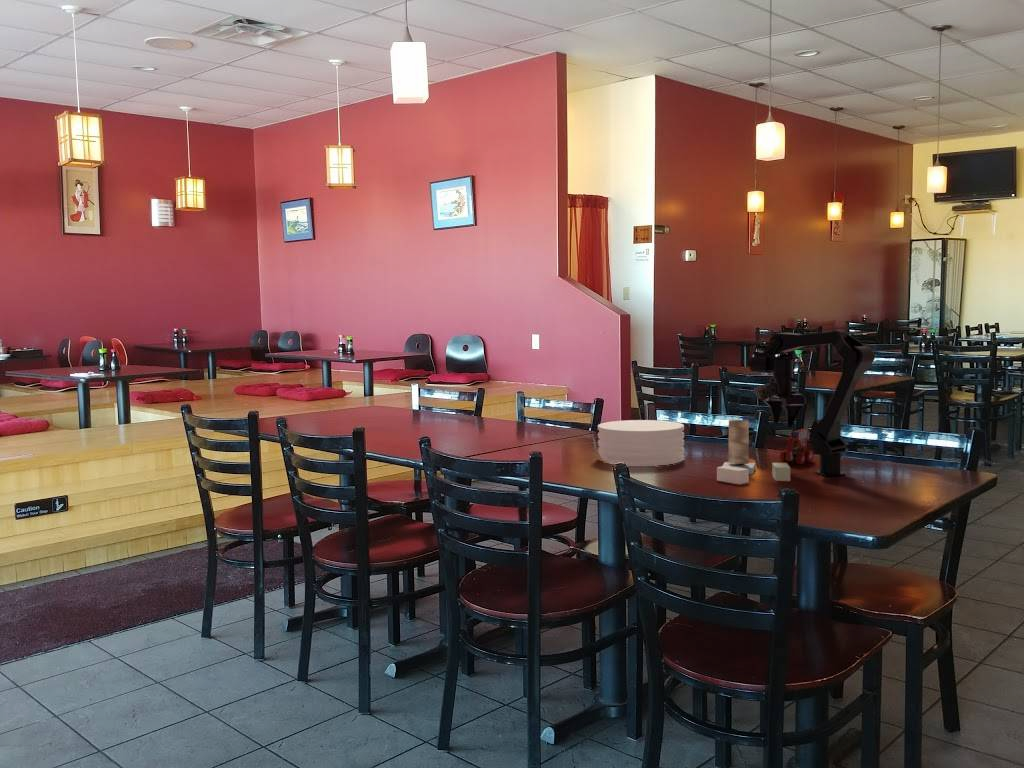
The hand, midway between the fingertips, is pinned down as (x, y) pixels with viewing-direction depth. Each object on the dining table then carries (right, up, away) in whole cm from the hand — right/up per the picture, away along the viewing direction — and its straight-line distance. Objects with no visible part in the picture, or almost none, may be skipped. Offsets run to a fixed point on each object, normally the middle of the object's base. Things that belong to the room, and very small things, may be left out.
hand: (782, 425), depth 269 cm
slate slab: (-14, -14, -3) cm, 20 cm away
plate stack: (-40, -13, +21) cm, 47 cm away
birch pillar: (-14, -11, -3) cm, 19 cm away
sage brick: (-5, -15, -16) cm, 22 cm away
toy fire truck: (+7, -13, +9) cm, 17 cm away
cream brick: (-20, -15, -19) cm, 32 cm away
